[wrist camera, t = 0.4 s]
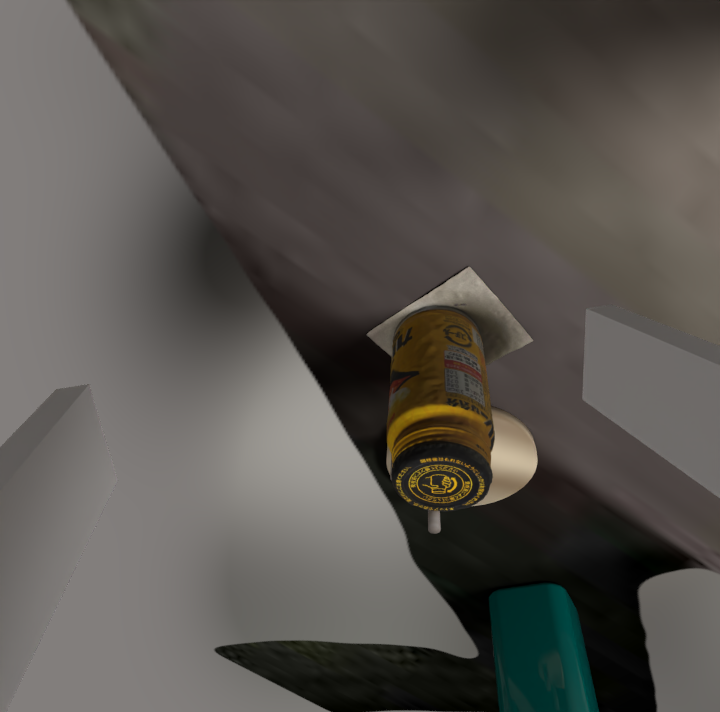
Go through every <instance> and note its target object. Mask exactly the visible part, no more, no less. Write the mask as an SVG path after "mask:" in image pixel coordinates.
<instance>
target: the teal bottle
mask: <svg viewBox="0 0 720 712" xmlns="http://www.w3.org/2000/svg"><path fill="white" fill-rule="evenodd" d="M488 601H489V612H490V622H491V632H492V643H493V653H494V664H495V674H496V685H497V695H498V705H499V712H599V710H598V705H597V700H596V696H595V691H594V687H593V682H592V677H591V673H590V668H589V664H588V659H587V654H586V650H585V645H584V640H583V636H582V631H581V627H580V622H579V617H578V613H577V609H576V608H575V606H574V604H573V602H572V600H571V599H570V597H569V595H568V593H567V592H566V590H565V588H564V587H562V586H560V585H558V584H555V583H551V582H543V583H536V584H529V585H522V586H515V587H508V588H501V589H498V590H495V591H494V592H493V593H491V594H490V596H489V600H488Z"/></svg>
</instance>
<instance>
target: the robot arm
mask: <svg viewBox="0 0 720 712" xmlns="http://www.w3.org/2000/svg"><path fill="white" fill-rule="evenodd" d="M582 399H583V400H584V401H585V402H587V403H588V404H589V405H591V406H592V407H594V408H595V409H596V410H598V411H599V412H601V413H602V414H603V415H605V416H606V417H608V418H609V419H610V420H612V421H613V422H615V423H616V424H617V425H619V426H620V427H621V428H623V429H624V430H626V431H627V432H628V433H630V434H631V435H633V436H634V437H635V438H637V439H638V440H640V441H641V442H642V443H644V444H645V445H647V446H648V447H649V448H651V449H652V450H653V451H655V452H656V453H658V454H659V455H660V456H662V457H663V458H665V459H666V460H667V461H669V462H670V463H672V464H673V465H674V466H676V467H677V468H679V469H680V470H681V471H683V472H684V473H685V474H687V475H688V476H690V477H691V478H692V479H694V480H695V481H697V482H698V483H699V484H701V485H702V486H704V487H705V488H706V489H708V490H709V491H711V492H712V493H713V494H715V495H716V496H717V497H719V498H720V346H719V345H716V344H714V343H711V342H708V341H706V340H703V339H701V338H698V337H695V336H693V335H690V334H688V333H685V332H682V331H680V330H677V329H674V328H672V327H669V326H667V325H664V324H661V323H659V322H656V321H654V320H651V319H648V318H646V317H643V316H641V315H638V314H635V313H633V312H630V311H627V310H625V309H622V308H620V307H617V306H614V305H606V306H599V307H593V308H586V326H585V350H584V373H583V397H582ZM117 481H118V478H117V475H116V472H115V468H114V465H113V462H112V458H111V455H110V452H109V448H108V445H107V442H106V439H105V436H104V432H103V429H102V425H101V422H100V419H99V416H98V412H97V409H96V405H95V403H94V399H93V396H92V392H91V389H90V386H89V384H87V385H81V386H75V387H68V388H61V389H56V390H55V391H54V392H53V393H52V394H51V395H50V396H49V397H48V398H47V399H46V400H45V402H44V403H43V404H42V405H41V406H40V407H39V408H38V409H37V410H36V411H35V412H34V413H33V414H32V415H31V416H30V417H29V418H28V419H27V420H26V421H25V422H24V423H23V424H22V425H21V426H20V427H19V428H18V429H17V430H16V432H14V433H13V435H12V436H11V437H10V438H9V439H8V440H7V441H6V442H5V443H4V444H3V445H2V446H1V447H0V712H6V711H7V709H8V707H9V705H10V703H11V701H12V699H13V697H14V695H15V693H16V691H17V689H18V687H19V685H20V682H21V680H22V678H23V676H24V674H25V672H26V670H27V668H28V666H29V664H30V661H31V660H32V658H33V655H34V653H35V651H36V649H37V647H38V645H39V643H40V641H41V638H42V637H43V635H44V633H45V631H46V629H47V626H48V624H49V622H50V620H51V618H52V616H53V614H54V612H55V610H56V608H57V605H58V604H59V602H60V600H61V597H62V595H63V593H64V591H65V589H66V587H67V585H68V583H69V581H70V579H71V577H72V574H73V572H74V570H75V568H76V566H77V564H78V562H79V560H80V558H81V556H82V554H83V552H84V550H85V548H86V546H87V544H88V542H89V539H90V537H91V535H92V533H93V531H94V529H95V527H96V525H97V523H98V521H99V518H100V517H101V515H102V513H103V510H104V508H105V506H106V504H107V502H108V500H109V498H110V496H111V494H112V492H113V489H114V487H115V486H116V483H117Z"/></svg>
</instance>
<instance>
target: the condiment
mask: <svg viewBox="0 0 720 712" xmlns="http://www.w3.org/2000/svg"><path fill="white" fill-rule="evenodd" d="M454 304H458V305H459V306H454ZM460 304H466V306H461V305H460ZM366 335H367V336H368V337H370V338H371V339H372V340H373V341H374V342H375V343H376V344H377V345H379V346H380V347H381V348H382V349H383V350H385V351H386V352H387V353H388V354H389V355H390V356H391V357H392V359H391V371H390V388H389V389H390V393H389V409H388V420H387V444H388V447H389V450H390V452H391V456H392V458H391V459H392V463H393V464H392V473H391V476H392V483H393V486H394V489H395V491H396V492H397V493H398V494H399V496H400V497H402V498H403V499H404V500H405V501H407V502H408V503H410V505H411V506H417V507H419V508H423V509H425V510H431V511H454V510H458V509H464V508H468V507H470V506H473V505H475V504H477V503H478V502H480V501H481V500H483V499H484V497H485V496H486V495H487V494H488V491H489V488H490V484H491V483H492V478H493V473H492V469H491V452H492V450H493V446H494V442H495V431H494V424H493V418H492V410H491V403H490V395H489V389H488V380H487V373H486V365H489V364H490V363H492V362H493V361H495V360H497V359H499V358H501V357H502V356H504V355H506V354H508V353H510V352H512V351H514V350H517V349H519V348H521V347H523V346H524V345H526V344H528V343H530V342H532V341H533V340H532V338H531V337H530V336H529V335H528V334H527V333H526V331H525V330H524V328H523V327H522V326H521V325H520V324H519V323H518V321H517V320H516V319H515V318H514V317H513V316H512V314H511V313H510V312H509V311H508V310H507V309H506V307H505V306H504V305H503V304H502V303H501V302H500V301H499V299H498V298H497V296H495V295H494V294H493V293H492V292H491V291H490V289H489V288H488V287H487V286H486V285H485V283H484V282H483V281H482V280H481V279H480V278H479V277H478V276H477V275H476V273H475V272H474V271H473V270H472V269H471V268H470V267H468V268H466V269H465V270H463V271H462V272H461V273H459V274H458V275H456V276H454V277H452V278H451V279H449V280H448V281H447V282H445V283H444V284H443V285H441V286H439V287H438V288H436V289H434V290H433V291H431V292H430V293H429V294H427V295H425V296H424V297H422V298H420V299H419V300H417V301H415V302H414V303H412V304H410V305H409V306H407V307H406V308H404V309H403V310H401V311H400V312H398V313H397V314H395V315H394V316H392V317H391V318H389V319H387V320H386V321H384V322H383V323H382V324H380V325H378V326H377V327H375V328H374V329H373V330H371V331H370V332H369V333H368V334H366Z"/></svg>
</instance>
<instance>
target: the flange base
mask: <svg viewBox="0 0 720 712" xmlns="http://www.w3.org/2000/svg"><path fill="white" fill-rule="evenodd" d="M491 410H492V418H493V424H494V431H495V442H494V446H493V450H492V452H491V469H492V473H493V478H492V483H491V484H490V488H489V491H488V494H487V495H486V496H485V497H484V499H483V500H481V501H480V502H478V503H477V504H475V505H473V506H477V505H484V504H488V503H492V502H495V501H498V500H501V499H504V498H506V497H508V496H510V495H512V494H514V493H516V492H517V491H518V490H520V489H521V488H522V487H524V486H525V485H526V484H527V483H528V482H529V480H530V479H531V478H532V476H533V474H534V473H535V470H536V467H537V452H536V447H535V442H534V439H533V436H532V434H531V432H530V431H529V429H528V428H527V427H526V425H525V424H524V423H523V422H521V421H520V420H519V419H518V418H516V417H515V416H513V415H512V414H510V413H508V412H506V411H504V410H501V409H499V408H496V407H493V406H491ZM391 458H392V456H391V452H390V450H389V447H388V445H387V462H386V463H387V469H388V471H389V474H390V479H391V480H392V476H391V473H392V464H393V463H392V459H391ZM428 531H429V532H430V533H439V532H440V511H431V510H428Z"/></svg>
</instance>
